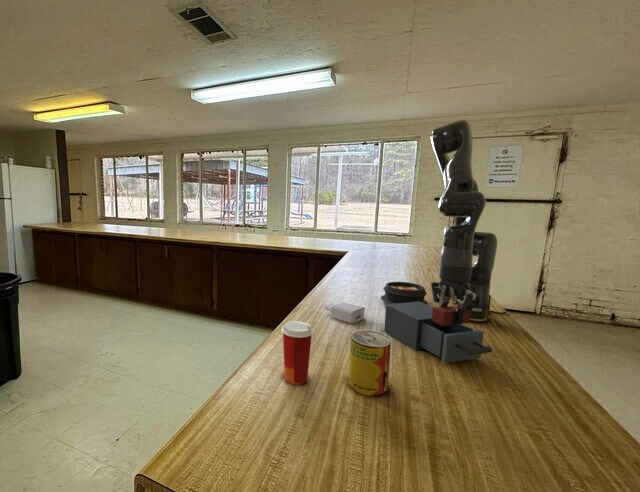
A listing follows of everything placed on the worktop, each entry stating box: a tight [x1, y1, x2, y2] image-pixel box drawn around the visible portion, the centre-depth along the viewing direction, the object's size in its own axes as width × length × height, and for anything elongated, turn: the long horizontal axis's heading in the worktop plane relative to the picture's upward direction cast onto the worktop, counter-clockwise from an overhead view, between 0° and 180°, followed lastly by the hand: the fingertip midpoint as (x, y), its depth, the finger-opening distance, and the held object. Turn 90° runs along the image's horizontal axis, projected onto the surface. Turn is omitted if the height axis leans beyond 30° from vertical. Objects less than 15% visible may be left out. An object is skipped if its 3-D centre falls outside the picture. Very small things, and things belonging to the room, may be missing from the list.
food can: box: [348, 330, 392, 397], centre depth 77 cm, size 9×9×12 cm
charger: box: [322, 301, 366, 325], centre depth 124 cm, size 5×9×15 cm
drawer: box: [418, 321, 493, 364], centre depth 92 cm, size 18×12×8 cm
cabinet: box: [383, 302, 435, 351], centre depth 104 cm, size 15×14×10 cm
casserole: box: [380, 281, 429, 306], centre depth 138 cm, size 25×19×8 cm
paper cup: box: [280, 320, 314, 386], centre depth 80 cm, size 8×8×14 cm
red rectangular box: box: [432, 305, 470, 326], centre depth 92 cm, size 9×4×4 cm, turn 104°
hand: (450, 321), depth 92 cm, fingers closed on red rectangular box, 4 cm apart
